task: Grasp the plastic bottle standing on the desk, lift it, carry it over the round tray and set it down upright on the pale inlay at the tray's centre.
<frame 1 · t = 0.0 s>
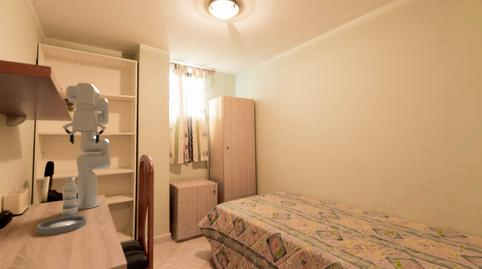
hand: (84, 143, 111), 37 cm above the table, tool pointing down, fingers open, 9 cm apart
plastic bottle: (69, 217, 117), on the table
round tray: (62, 227, 102), on the table
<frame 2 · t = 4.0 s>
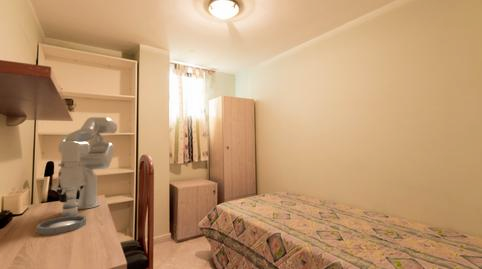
hand: (69, 200, 117), 9 cm above the table, tool pointing down, fingers closed on plastic bottle, 6 cm apart
plastic bottle: (69, 217, 117), on the table, touching gripper
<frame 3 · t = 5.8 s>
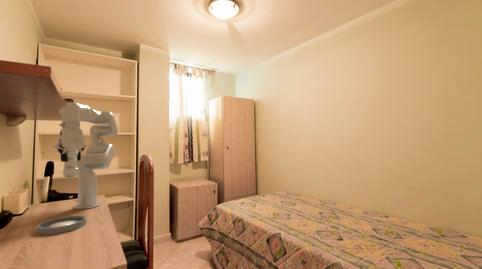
hand: (71, 160, 118), 29 cm above the table, tool pointing down, fingers closed on plastic bottle, 6 cm apart
plastic bottle: (70, 177, 118), point 20 cm above the table, touching gripper
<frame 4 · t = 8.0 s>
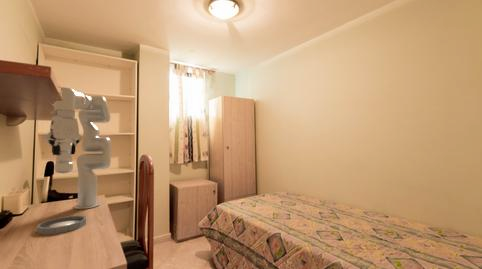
hand: (64, 154, 104), 32 cm above the table, tool pointing down, fingers closed on plastic bottle, 6 cm apart
plastic bottle: (63, 173, 103), point 24 cm above the table, touching gripper
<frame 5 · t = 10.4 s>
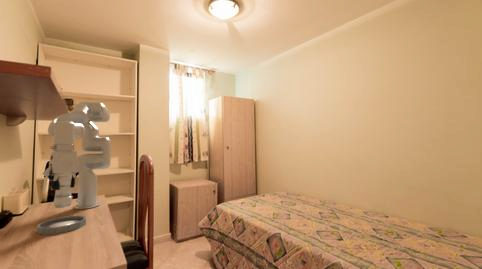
hand: (63, 188, 103), 17 cm above the table, tool pointing down, fingers closed on plastic bottle, 6 cm apart
plastic bottle: (63, 207, 102), point 9 cm above the table, touching gripper
when the fingers open (11 cm above the table, at t = 12.2 s): plastic bottle drops 2 cm, resting on round tray.
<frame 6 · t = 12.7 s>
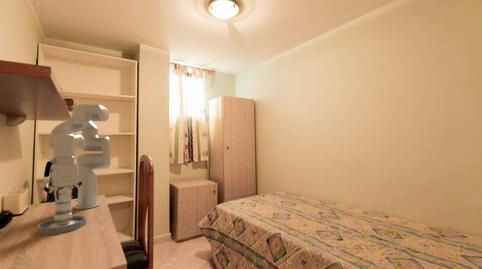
hand: (63, 199, 103), 12 cm above the table, tool pointing down, fingers open, 9 cm apart
plastic bottle: (63, 224, 103), point 1 cm above the table, touching round tray
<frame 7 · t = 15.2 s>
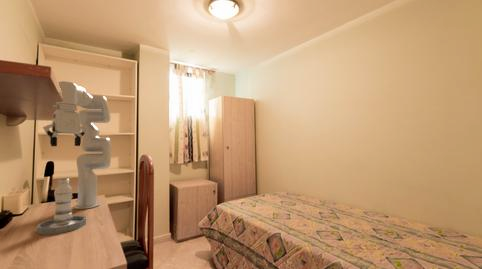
hand: (66, 146, 105), 36 cm above the table, tool pointing down, fingers open, 9 cm apart
nothing on the table moved.
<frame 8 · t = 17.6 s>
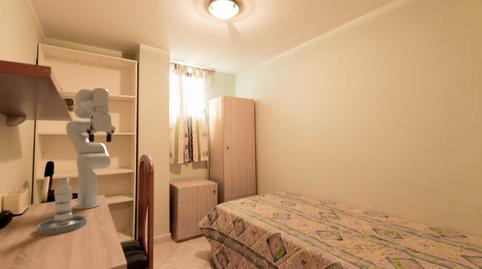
hand: (100, 142, 126), 38 cm above the table, tool pointing down, fingers open, 9 cm apart
nothing on the table moved.
at the end: plastic bottle inside the target area on the round tray (0.4 cm from its centre), point 1.0 cm above the round tray's base; plastic bottle tilted 0°; the gripper is holding nothing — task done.
